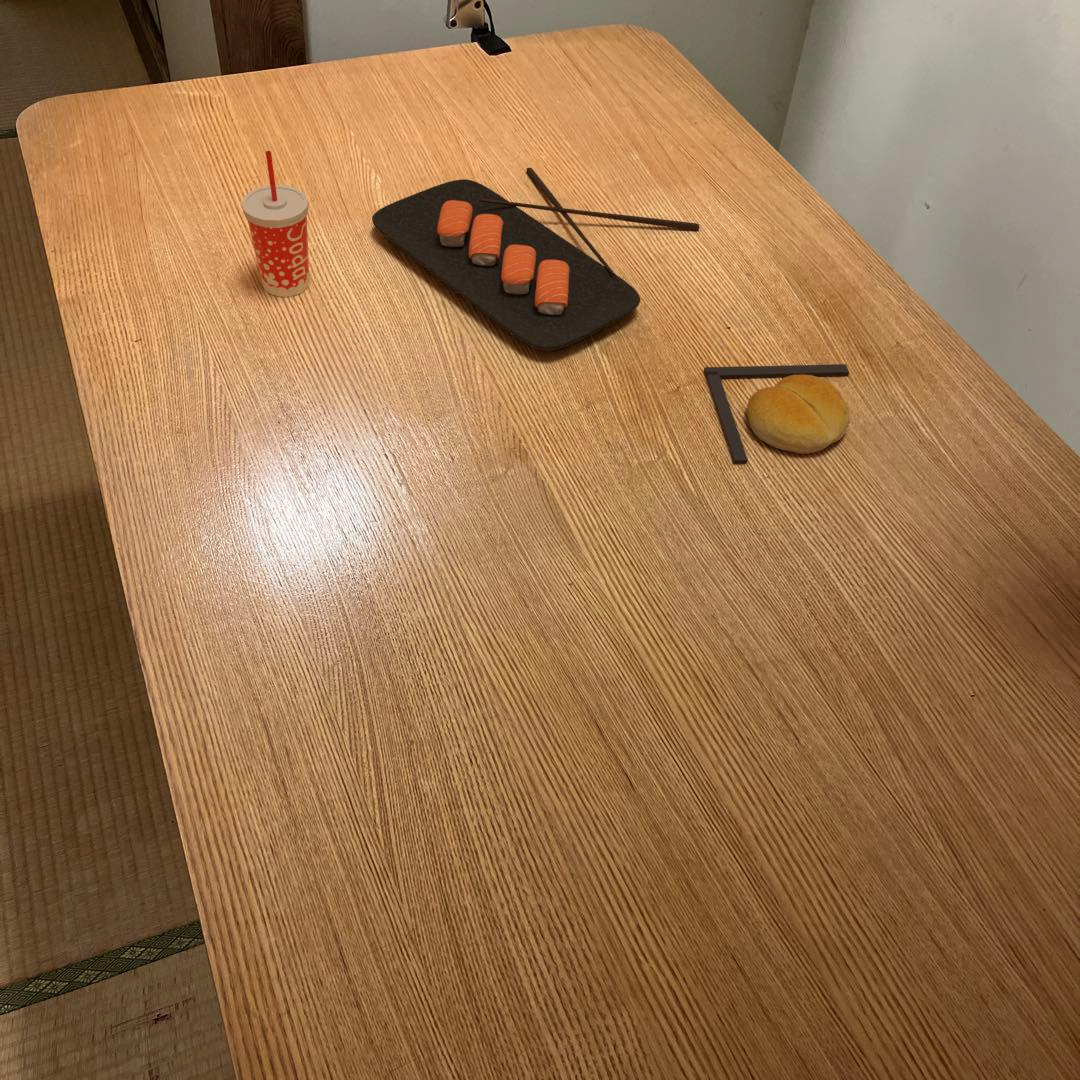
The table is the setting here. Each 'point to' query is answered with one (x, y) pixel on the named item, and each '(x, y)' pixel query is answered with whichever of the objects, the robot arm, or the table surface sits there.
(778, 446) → the bread roll
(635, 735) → the table surface
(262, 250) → the beverage cup
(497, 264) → the sushi plate
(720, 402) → the corner guide
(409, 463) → the table surface
